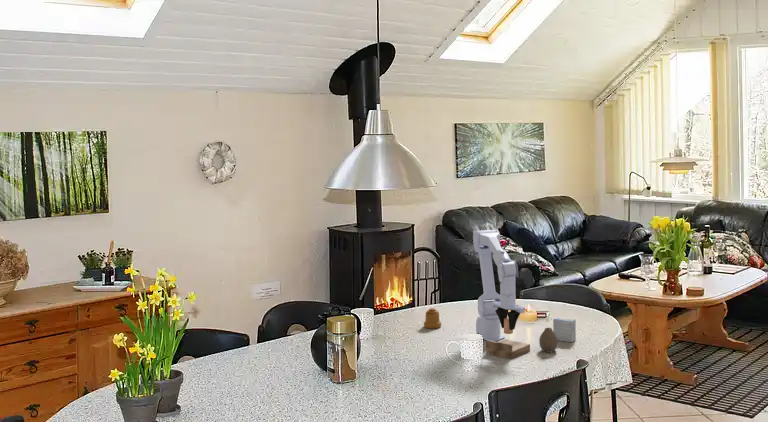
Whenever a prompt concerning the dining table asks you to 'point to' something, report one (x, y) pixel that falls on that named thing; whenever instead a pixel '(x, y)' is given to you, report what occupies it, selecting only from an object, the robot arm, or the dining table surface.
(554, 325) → the medicine box
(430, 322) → the ornamental finial
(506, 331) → the peach rounded cylinder
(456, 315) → the dining table surface
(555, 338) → the vase
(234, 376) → the dining table surface
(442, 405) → the dining table surface
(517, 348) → the brown wooden box
